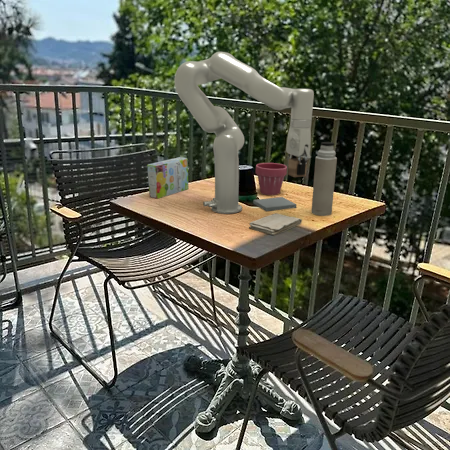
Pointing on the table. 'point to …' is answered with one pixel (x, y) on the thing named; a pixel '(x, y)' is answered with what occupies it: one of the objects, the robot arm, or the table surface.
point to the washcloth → (275, 224)
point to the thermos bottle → (324, 180)
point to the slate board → (274, 204)
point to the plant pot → (270, 177)
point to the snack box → (168, 177)
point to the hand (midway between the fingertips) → (296, 172)
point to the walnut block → (294, 167)
